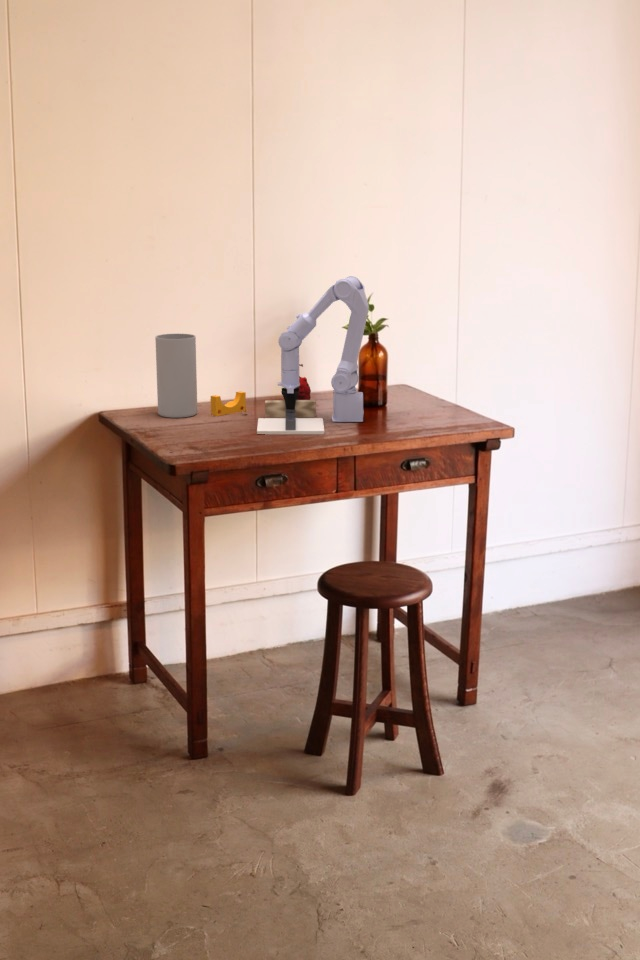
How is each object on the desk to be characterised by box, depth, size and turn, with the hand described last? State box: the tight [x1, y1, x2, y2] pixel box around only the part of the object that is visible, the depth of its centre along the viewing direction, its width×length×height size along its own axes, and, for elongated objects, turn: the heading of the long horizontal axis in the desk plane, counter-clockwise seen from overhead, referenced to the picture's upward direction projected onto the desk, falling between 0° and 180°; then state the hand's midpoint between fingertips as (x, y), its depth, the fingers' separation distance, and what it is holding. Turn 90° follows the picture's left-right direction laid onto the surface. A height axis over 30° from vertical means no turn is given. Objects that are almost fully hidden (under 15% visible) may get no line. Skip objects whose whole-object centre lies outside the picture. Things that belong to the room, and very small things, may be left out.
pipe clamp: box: [210, 390, 247, 417], centre depth 371 cm, size 12×4×6 cm, turn 131°
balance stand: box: [256, 409, 325, 435], centre depth 351 cm, size 20×18×4 cm
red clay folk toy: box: [297, 363, 312, 400], centre depth 386 cm, size 8×7×15 cm
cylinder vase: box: [155, 333, 198, 419], centre depth 366 cm, size 12×12×25 cm
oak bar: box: [264, 399, 317, 418], centre depth 367 cm, size 16×4×5 cm, turn 93°
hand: (290, 411), depth 367 cm, fingers closed on oak bar, 4 cm apart
